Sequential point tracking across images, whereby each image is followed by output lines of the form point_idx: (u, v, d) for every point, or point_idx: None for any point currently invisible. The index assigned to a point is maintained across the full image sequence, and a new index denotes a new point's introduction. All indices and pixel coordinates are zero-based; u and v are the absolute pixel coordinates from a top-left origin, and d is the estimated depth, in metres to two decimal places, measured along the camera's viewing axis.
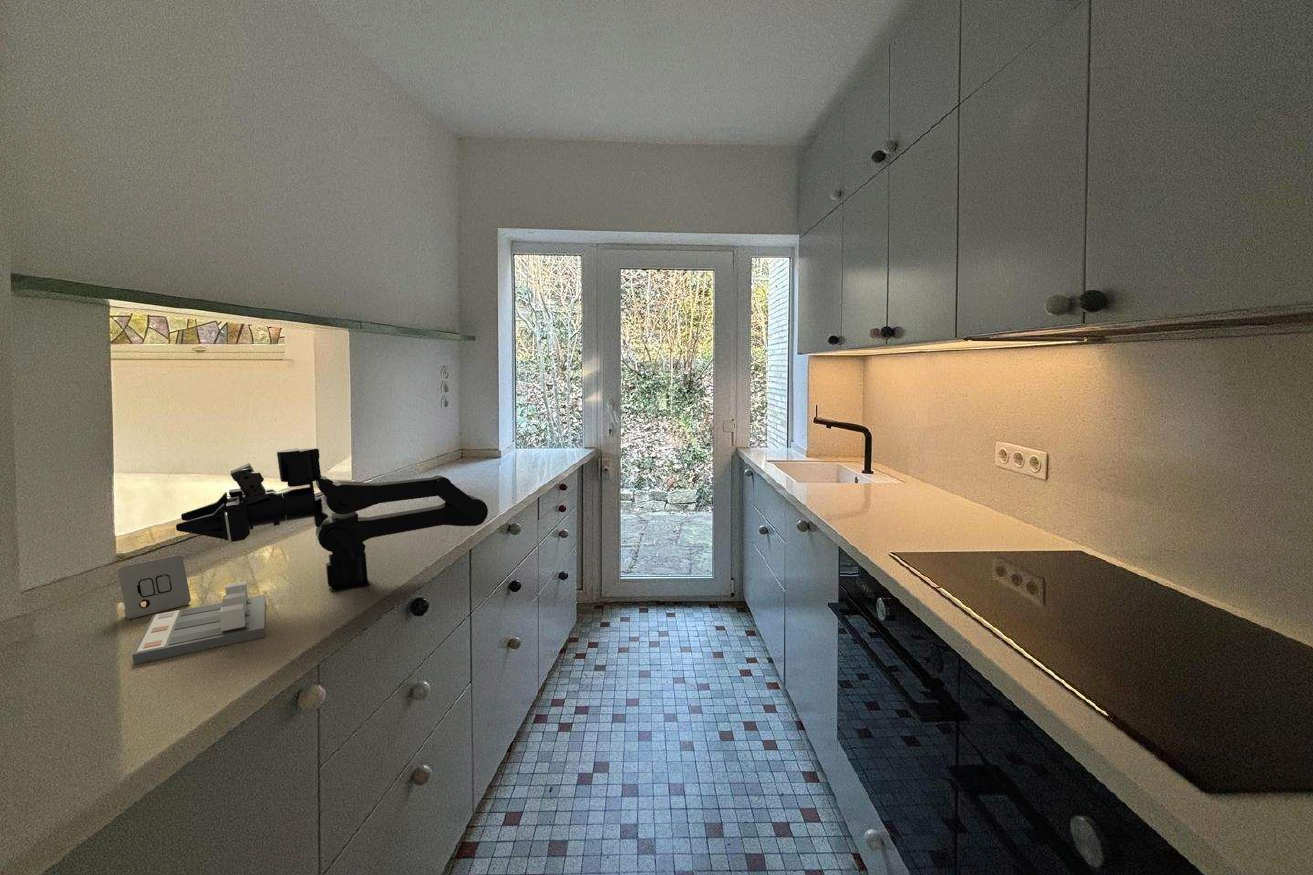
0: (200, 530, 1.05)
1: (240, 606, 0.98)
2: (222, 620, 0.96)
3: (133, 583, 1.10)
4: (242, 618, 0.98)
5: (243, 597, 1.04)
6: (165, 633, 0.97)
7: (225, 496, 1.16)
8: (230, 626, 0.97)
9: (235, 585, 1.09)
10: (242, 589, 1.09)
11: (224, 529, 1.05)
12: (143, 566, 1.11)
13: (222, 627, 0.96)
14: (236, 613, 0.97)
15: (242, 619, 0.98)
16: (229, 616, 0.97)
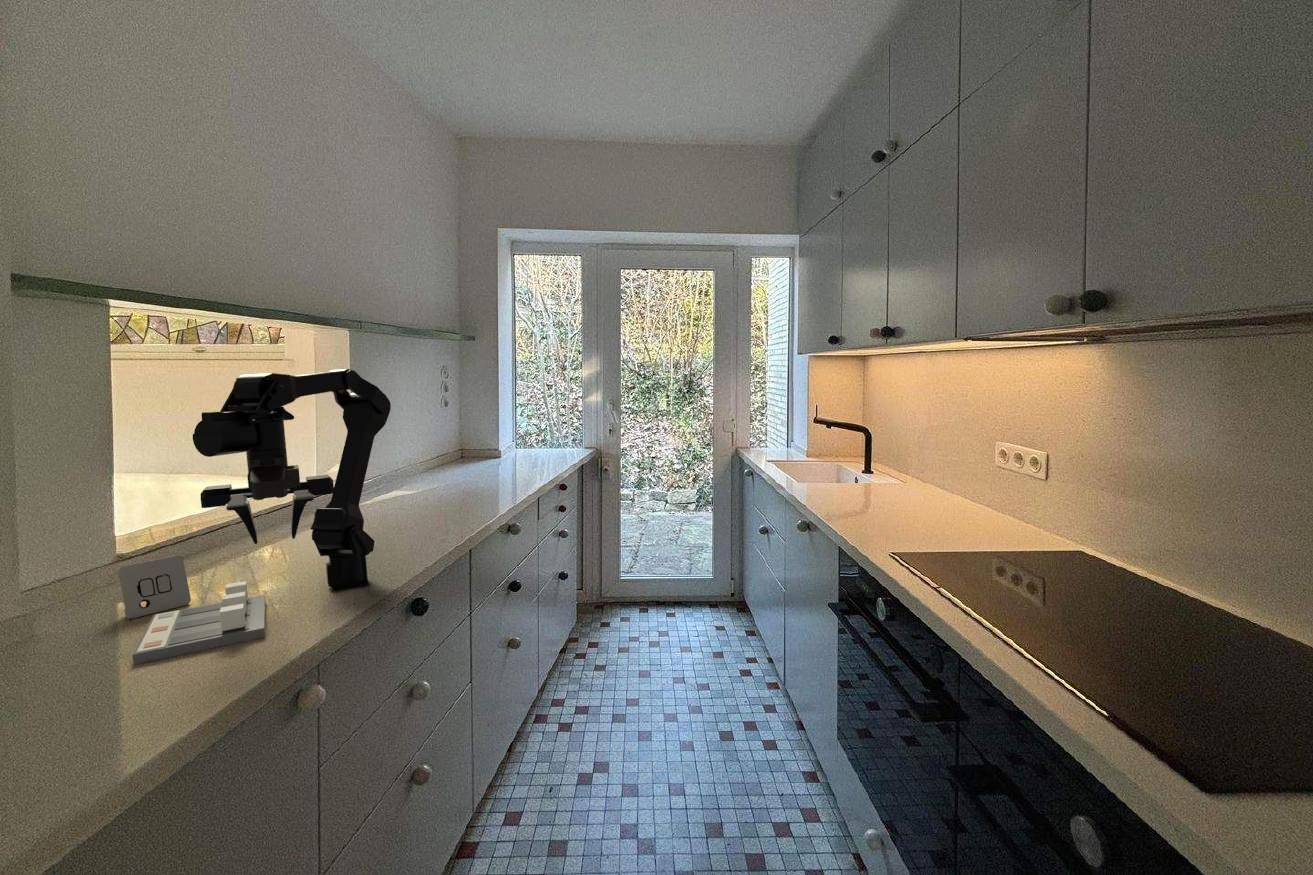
0: None
1: (240, 606, 0.98)
2: (222, 620, 0.96)
3: (133, 583, 1.10)
4: (242, 618, 0.98)
5: (243, 597, 1.04)
6: (165, 633, 0.97)
7: (247, 506, 1.02)
8: (230, 626, 0.97)
9: (235, 585, 1.09)
10: (242, 589, 1.09)
11: (312, 496, 1.10)
12: (143, 566, 1.11)
13: (222, 627, 0.96)
14: (236, 613, 0.97)
15: (242, 619, 0.98)
16: (229, 616, 0.97)
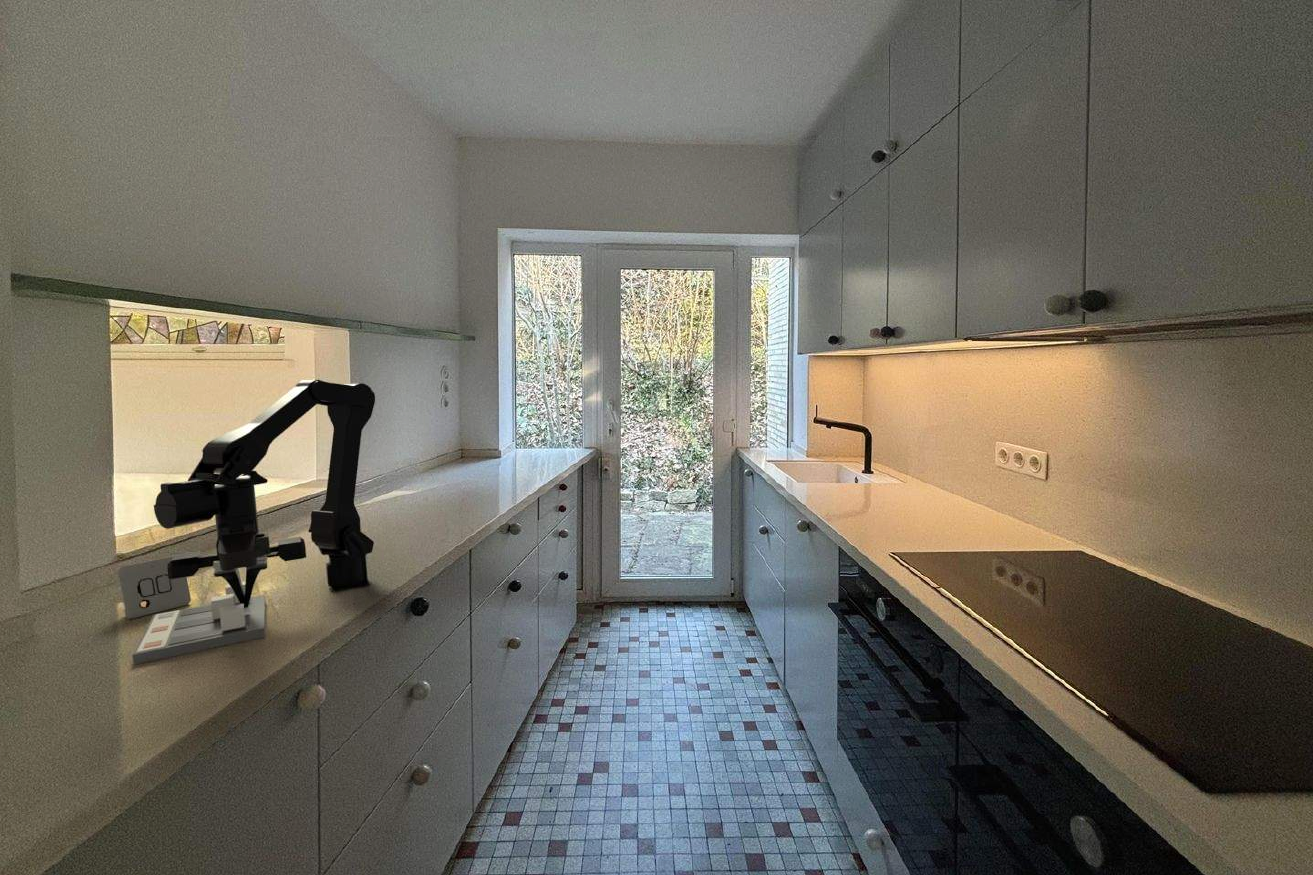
0: None
1: (240, 606, 0.98)
2: (222, 620, 0.96)
3: (133, 583, 1.10)
4: (242, 618, 0.98)
5: (232, 599, 1.03)
6: (165, 633, 0.97)
7: (235, 571, 1.02)
8: (230, 626, 0.97)
9: None
10: None
11: None
12: (143, 566, 1.11)
13: (222, 627, 0.96)
14: (236, 613, 0.97)
15: (242, 619, 0.98)
16: (229, 616, 0.97)
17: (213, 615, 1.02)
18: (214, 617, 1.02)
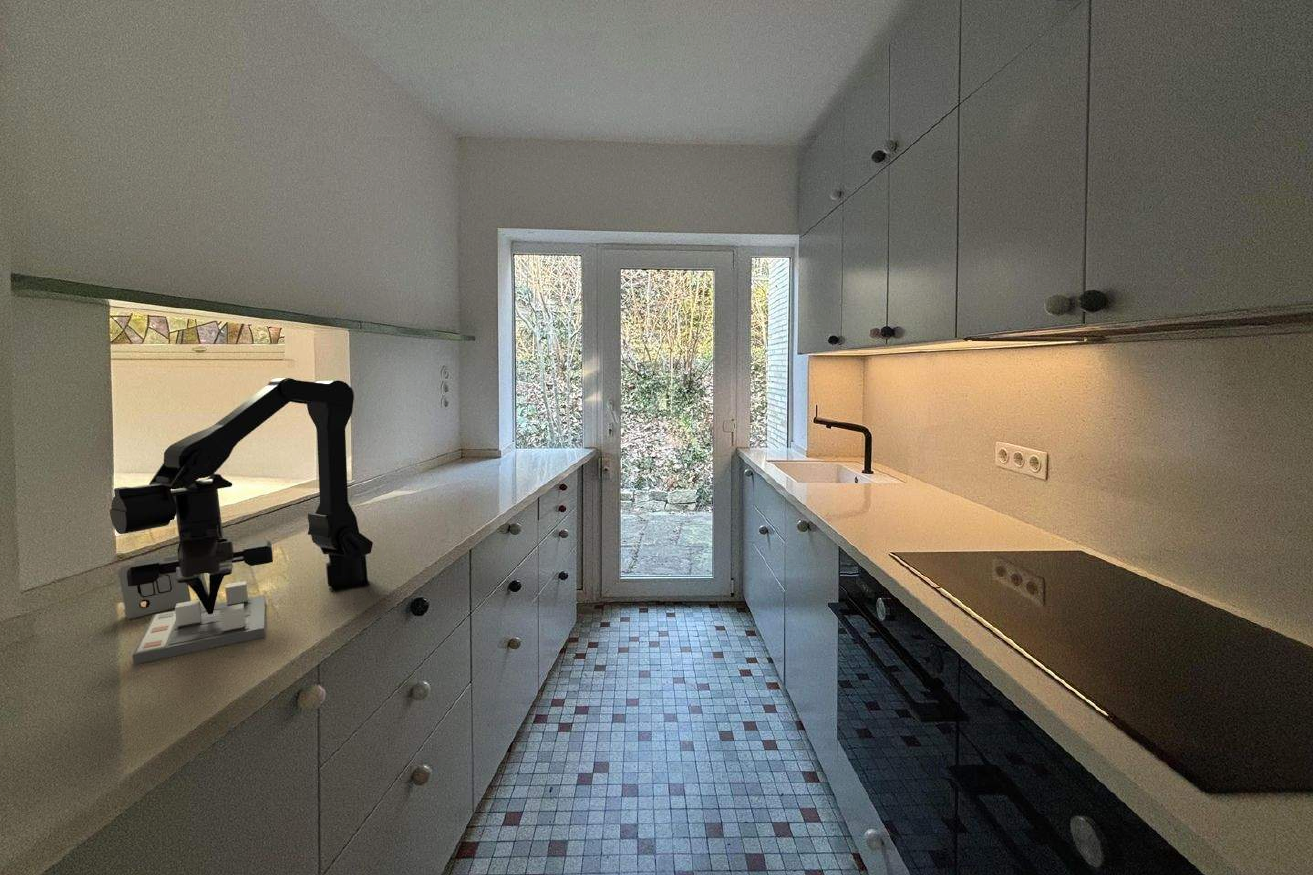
0: None
1: (240, 606, 0.98)
2: (222, 620, 0.96)
3: None
4: (242, 618, 0.98)
5: (197, 605, 1.00)
6: (165, 633, 0.97)
7: (199, 577, 0.99)
8: (230, 626, 0.97)
9: (235, 585, 1.09)
10: (242, 589, 1.09)
11: (232, 568, 1.04)
12: None
13: (222, 627, 0.96)
14: (236, 613, 0.97)
15: (242, 619, 0.98)
16: (229, 616, 0.97)
17: (177, 622, 0.99)
18: (178, 624, 0.99)
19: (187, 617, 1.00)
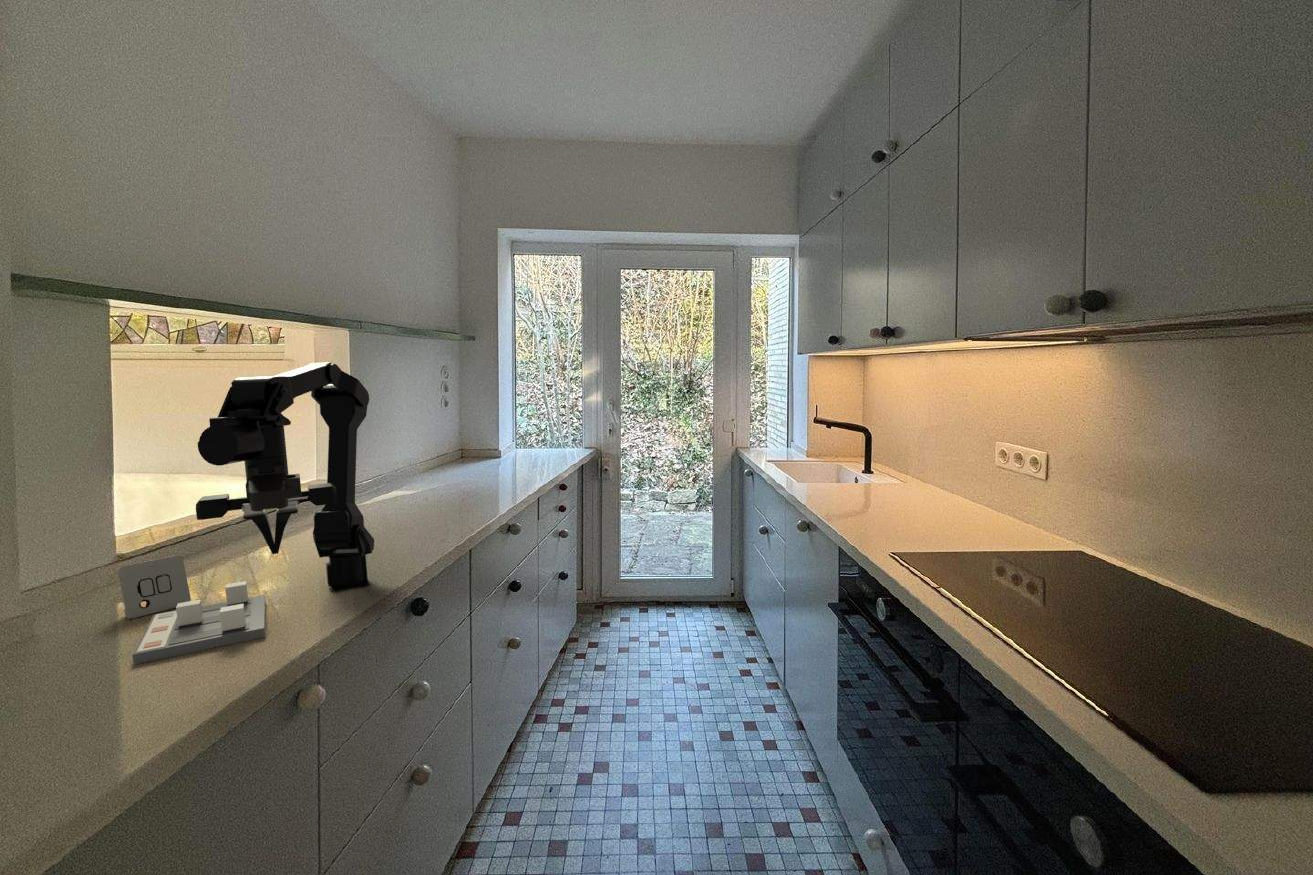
0: None
1: (240, 606, 0.98)
2: (222, 620, 0.96)
3: (133, 583, 1.10)
4: (242, 618, 0.98)
5: (198, 605, 1.00)
6: (165, 633, 0.97)
7: (265, 514, 0.97)
8: (230, 626, 0.97)
9: (235, 585, 1.09)
10: (242, 589, 1.09)
11: None
12: (143, 566, 1.11)
13: (222, 627, 0.96)
14: (236, 613, 0.97)
15: (242, 619, 0.98)
16: (229, 616, 0.97)
17: (178, 622, 0.99)
18: (179, 624, 0.99)
19: (188, 617, 1.00)
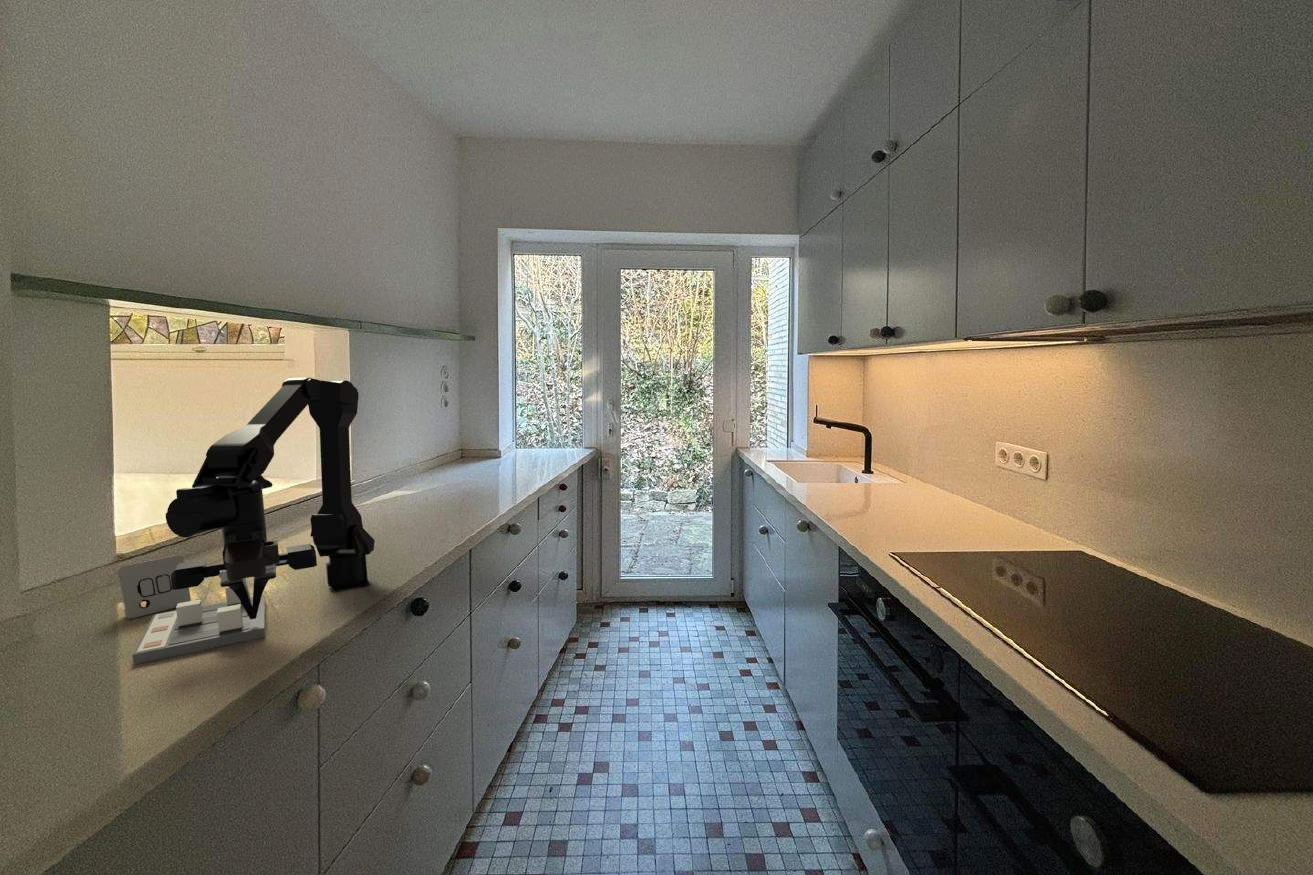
0: None
1: (237, 607, 0.98)
2: (219, 621, 0.96)
3: (133, 583, 1.10)
4: (239, 619, 0.98)
5: (198, 605, 1.00)
6: (165, 633, 0.97)
7: (243, 581, 0.96)
8: (227, 627, 0.97)
9: None
10: None
11: (275, 571, 1.01)
12: (143, 566, 1.11)
13: (219, 628, 0.96)
14: (233, 614, 0.97)
15: (239, 620, 0.98)
16: (226, 617, 0.97)
17: (178, 622, 0.99)
18: (179, 624, 0.99)
19: (188, 617, 1.00)
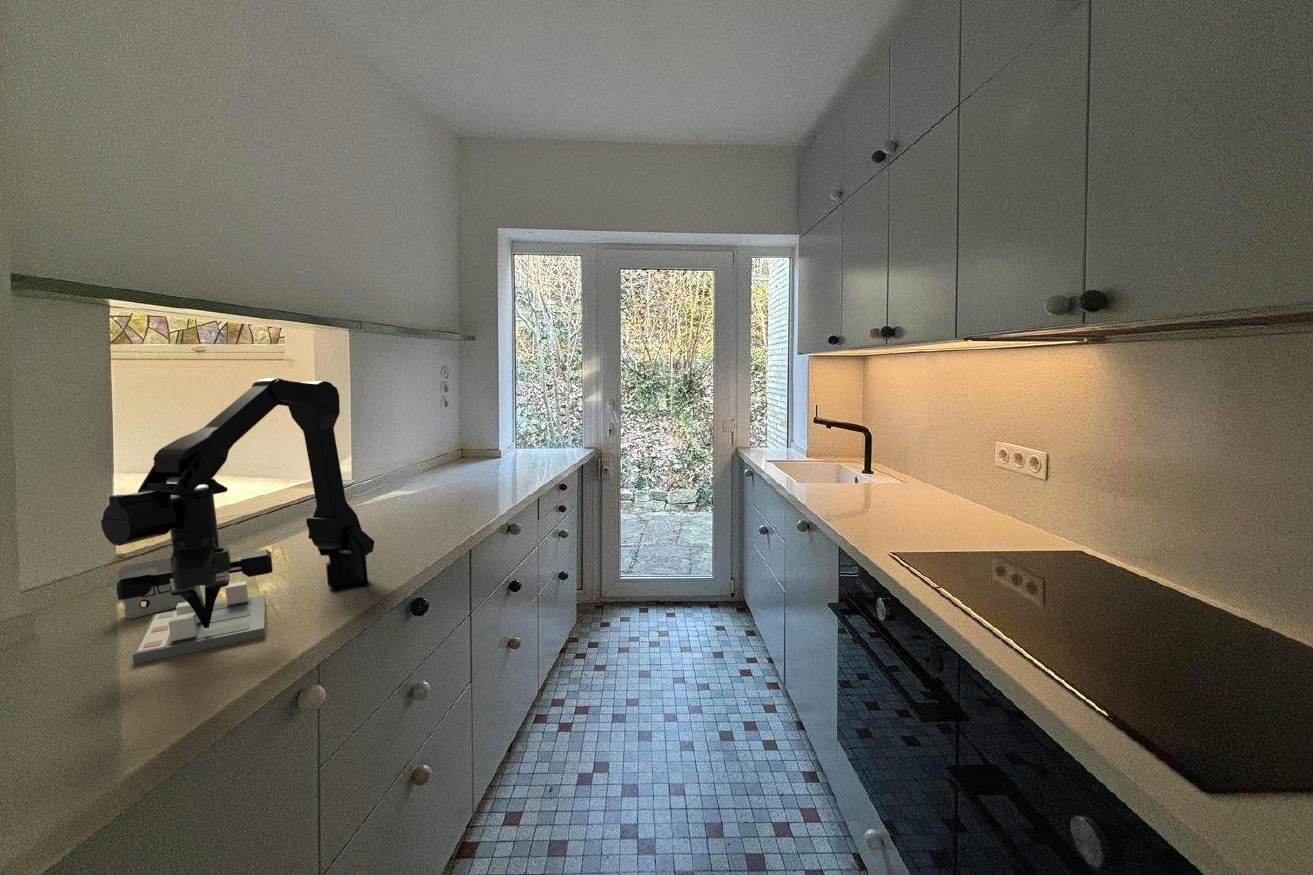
0: None
1: (191, 615, 0.95)
2: (171, 630, 0.93)
3: None
4: (193, 628, 0.94)
5: None
6: (165, 633, 0.97)
7: (194, 589, 0.93)
8: (180, 636, 0.94)
9: (235, 585, 1.09)
10: (242, 589, 1.09)
11: (229, 578, 0.98)
12: (143, 566, 1.11)
13: (171, 637, 0.93)
14: (186, 623, 0.94)
15: (193, 629, 0.94)
16: (179, 626, 0.94)
17: None
18: None
19: None
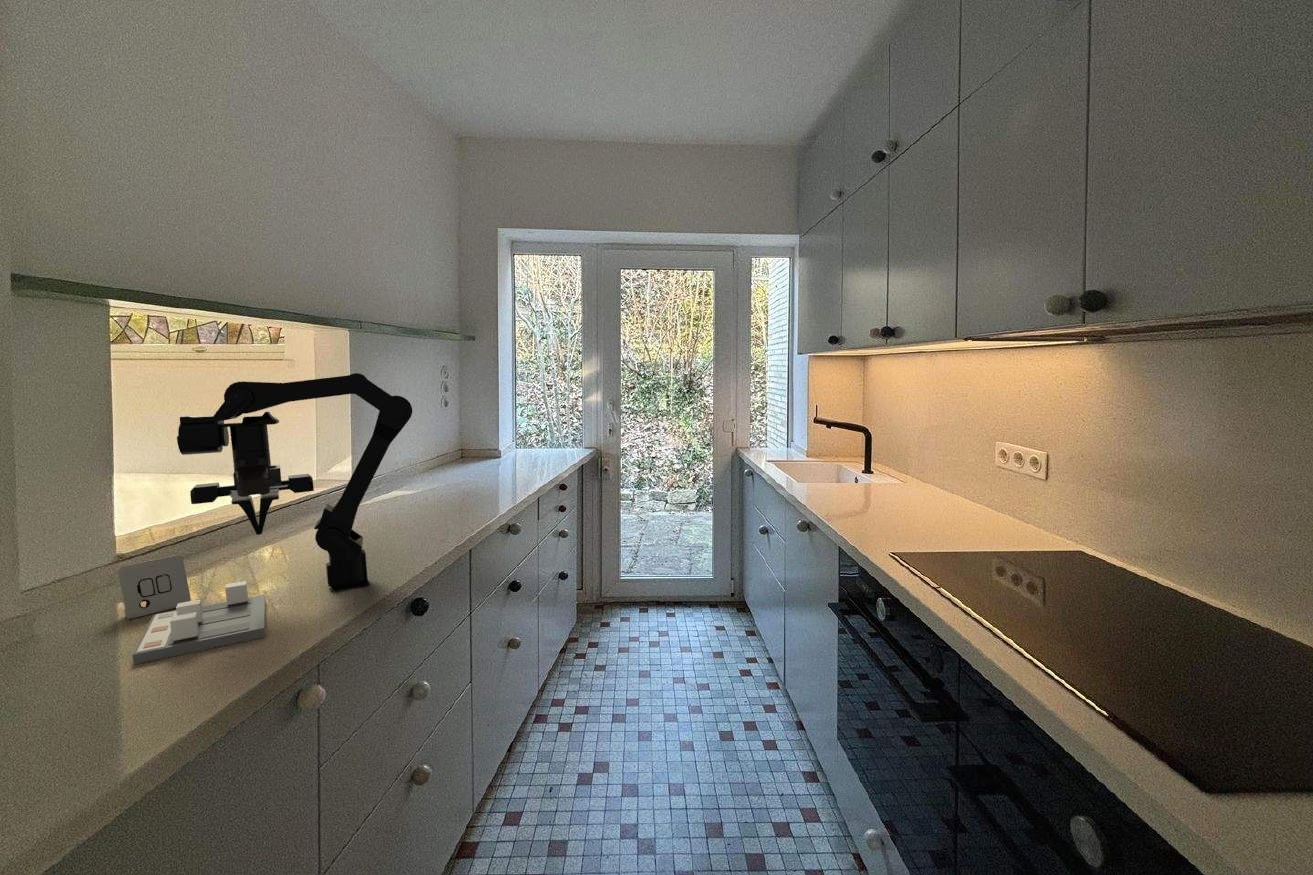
0: None
1: (192, 615, 0.95)
2: (173, 630, 0.93)
3: (132, 583, 1.10)
4: (194, 627, 0.95)
5: (198, 605, 1.00)
6: (165, 633, 0.97)
7: (250, 500, 1.13)
8: (181, 636, 0.94)
9: (235, 585, 1.09)
10: (242, 589, 1.09)
11: (278, 495, 1.18)
12: (143, 566, 1.11)
13: (173, 637, 0.93)
14: (187, 622, 0.94)
15: (194, 628, 0.95)
16: (180, 625, 0.94)
17: None
18: None
19: None
